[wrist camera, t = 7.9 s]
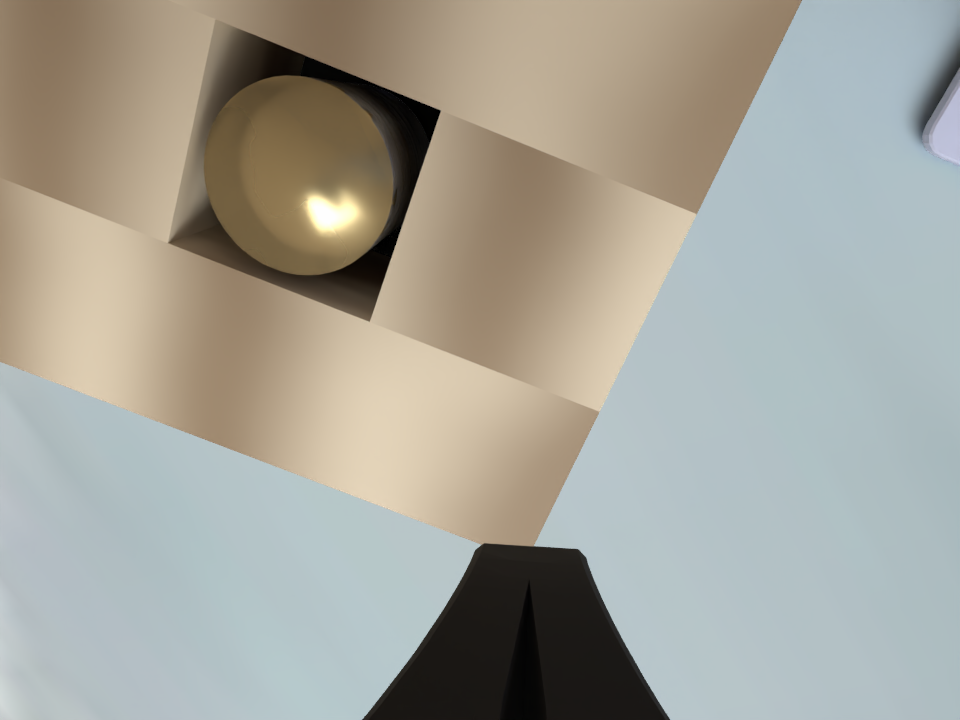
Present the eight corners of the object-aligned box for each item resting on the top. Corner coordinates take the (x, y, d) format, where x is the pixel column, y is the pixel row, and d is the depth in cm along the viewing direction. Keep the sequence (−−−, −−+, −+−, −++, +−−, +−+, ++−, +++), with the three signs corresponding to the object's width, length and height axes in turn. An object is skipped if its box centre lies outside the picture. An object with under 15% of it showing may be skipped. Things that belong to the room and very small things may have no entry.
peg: (452, 117, 17) (419, 121, 12) (405, 256, 18) (360, 302, 14) (310, 60, 16) (228, 43, 12) (272, 204, 18) (185, 234, 13)
